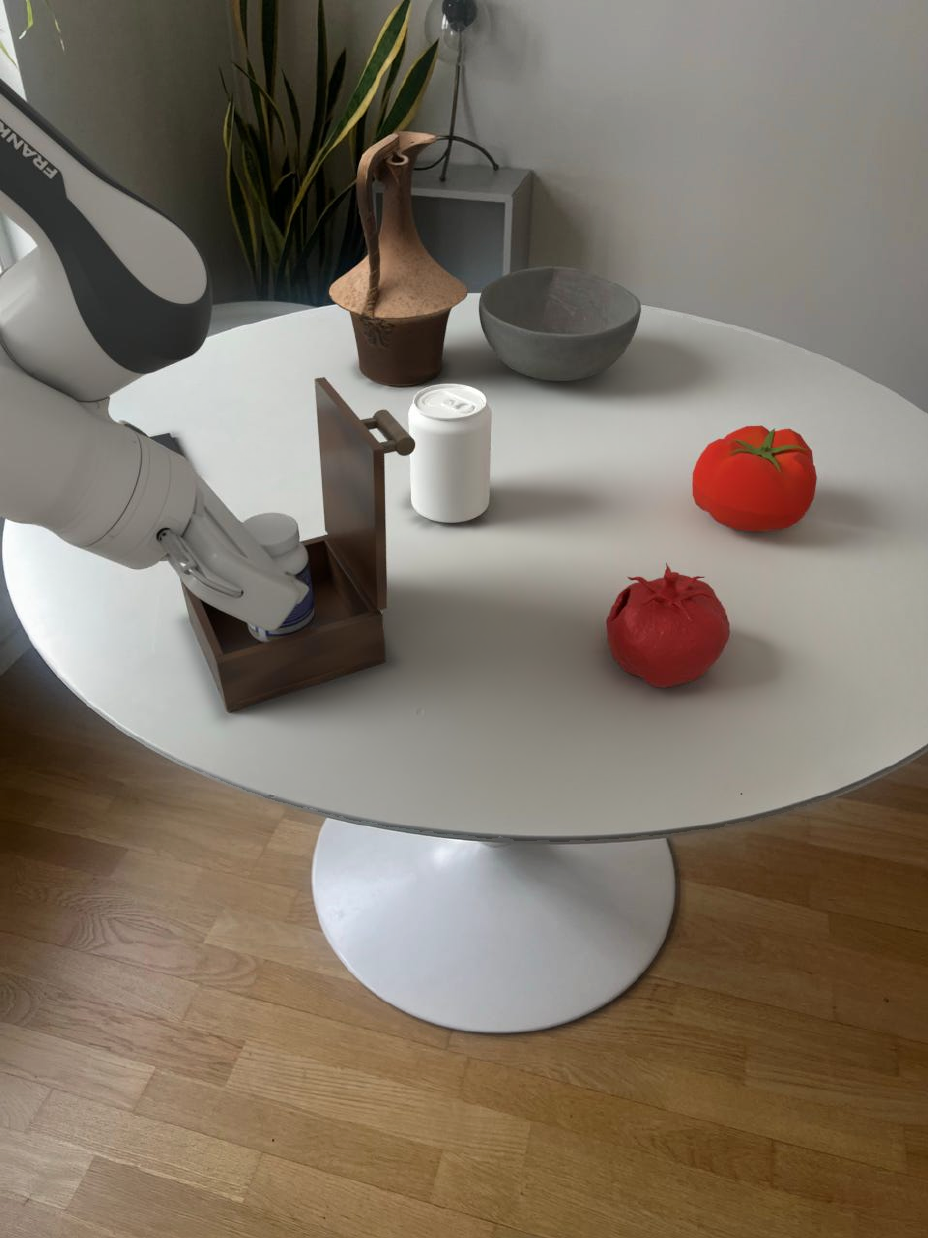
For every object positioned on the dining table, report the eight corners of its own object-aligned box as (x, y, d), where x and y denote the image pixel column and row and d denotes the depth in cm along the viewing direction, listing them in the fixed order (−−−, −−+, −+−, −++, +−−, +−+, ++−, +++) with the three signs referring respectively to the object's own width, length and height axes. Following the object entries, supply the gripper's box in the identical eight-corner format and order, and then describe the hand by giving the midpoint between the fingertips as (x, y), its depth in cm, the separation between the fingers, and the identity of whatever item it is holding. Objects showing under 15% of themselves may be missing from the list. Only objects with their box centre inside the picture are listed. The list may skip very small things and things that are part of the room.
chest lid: (373, 450, 66) (437, 437, 67) (314, 378, 74) (372, 368, 76) (377, 611, 75) (433, 596, 77) (324, 530, 83) (376, 518, 85)
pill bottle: (327, 612, 80) (317, 515, 74) (297, 654, 76) (283, 555, 70) (268, 598, 82) (253, 502, 75) (235, 638, 78) (216, 540, 71)
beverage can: (442, 477, 101) (441, 374, 94) (504, 501, 98) (508, 395, 90) (395, 510, 96) (390, 404, 89) (458, 536, 93) (459, 428, 85)
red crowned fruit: (745, 670, 78) (769, 583, 72) (655, 717, 74) (673, 628, 68) (664, 607, 84) (681, 522, 78) (577, 646, 80) (588, 559, 74)
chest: (227, 712, 74) (216, 663, 71) (189, 620, 83) (178, 573, 79) (386, 662, 79) (382, 614, 75) (334, 580, 87) (329, 533, 84)
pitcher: (433, 410, 113) (429, 161, 95) (310, 386, 118) (283, 144, 100) (485, 353, 126) (490, 123, 107) (371, 333, 130) (358, 109, 112)
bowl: (452, 389, 117) (452, 311, 111) (509, 329, 132) (512, 257, 125) (607, 419, 111) (616, 339, 105) (649, 353, 126) (659, 279, 119)
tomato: (737, 564, 90) (756, 488, 84) (663, 499, 98) (676, 427, 93) (839, 532, 94) (863, 458, 88) (759, 473, 102) (777, 402, 97)
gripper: (219, 537, 58) (366, 605, 69) (115, 409, 71) (251, 483, 82) (164, 617, 59) (317, 672, 70) (71, 477, 72) (212, 541, 83)
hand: (281, 569), depth 76 cm, fingers closed on pill bottle, 6 cm apart
